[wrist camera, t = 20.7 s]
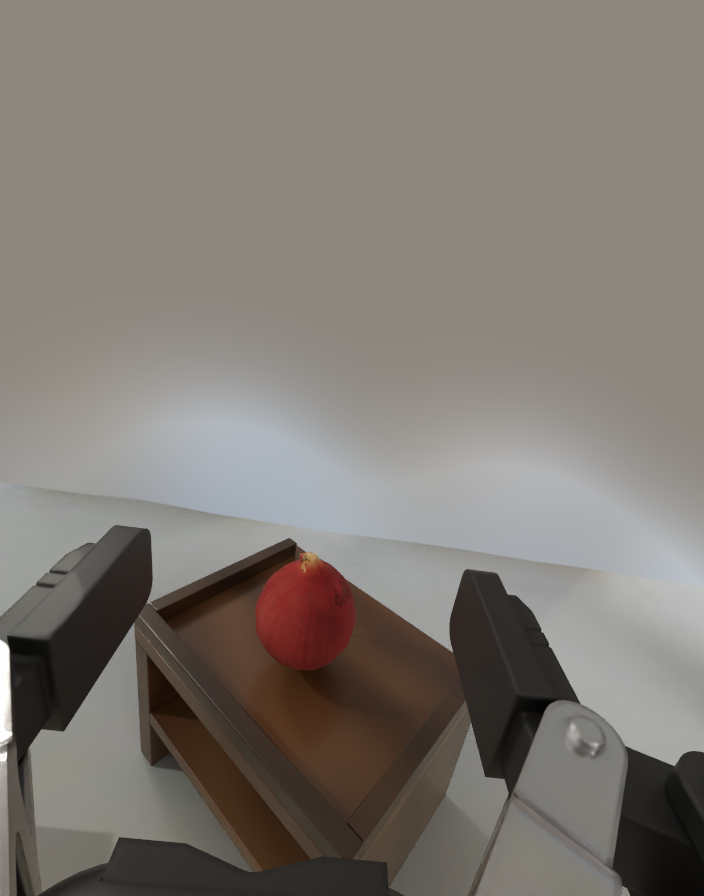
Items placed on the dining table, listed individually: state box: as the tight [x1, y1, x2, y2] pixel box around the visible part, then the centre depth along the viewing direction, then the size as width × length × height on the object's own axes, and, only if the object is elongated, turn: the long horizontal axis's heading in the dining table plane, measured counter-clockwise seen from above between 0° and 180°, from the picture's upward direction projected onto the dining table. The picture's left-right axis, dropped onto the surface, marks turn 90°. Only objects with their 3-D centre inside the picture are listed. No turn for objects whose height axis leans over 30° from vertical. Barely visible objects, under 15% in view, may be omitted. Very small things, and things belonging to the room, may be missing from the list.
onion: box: [255, 552, 356, 670], centre depth 25 cm, size 6×6×8 cm
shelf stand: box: [134, 538, 471, 888], centre depth 29 cm, size 14×18×13 cm
